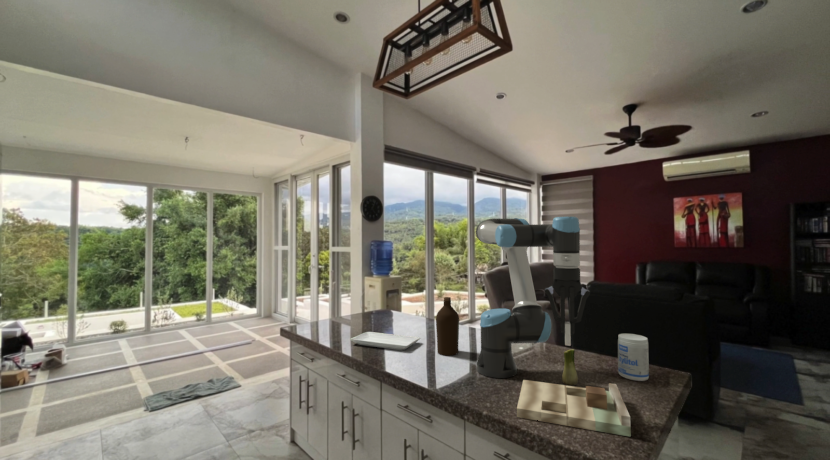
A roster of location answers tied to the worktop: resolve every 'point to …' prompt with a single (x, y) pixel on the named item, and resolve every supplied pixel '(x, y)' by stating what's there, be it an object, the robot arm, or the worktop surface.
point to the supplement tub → (633, 357)
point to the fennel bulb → (569, 369)
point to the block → (596, 397)
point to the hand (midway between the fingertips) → (567, 344)
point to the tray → (385, 340)
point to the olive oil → (447, 329)
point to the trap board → (573, 407)
